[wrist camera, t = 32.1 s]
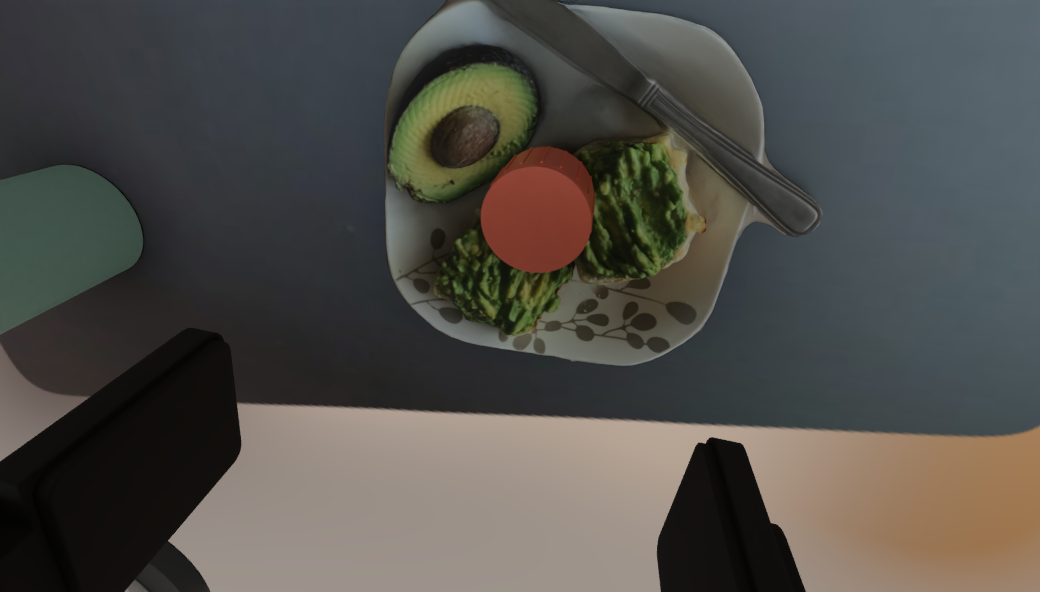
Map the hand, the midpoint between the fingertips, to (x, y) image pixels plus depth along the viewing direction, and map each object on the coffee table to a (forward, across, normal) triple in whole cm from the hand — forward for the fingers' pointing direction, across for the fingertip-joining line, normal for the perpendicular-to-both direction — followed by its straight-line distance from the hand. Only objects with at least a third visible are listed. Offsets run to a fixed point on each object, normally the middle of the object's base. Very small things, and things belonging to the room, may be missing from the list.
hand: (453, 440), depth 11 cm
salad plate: (+17, 0, -1) cm, 17 cm away
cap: (+13, 0, -1) cm, 13 cm away
